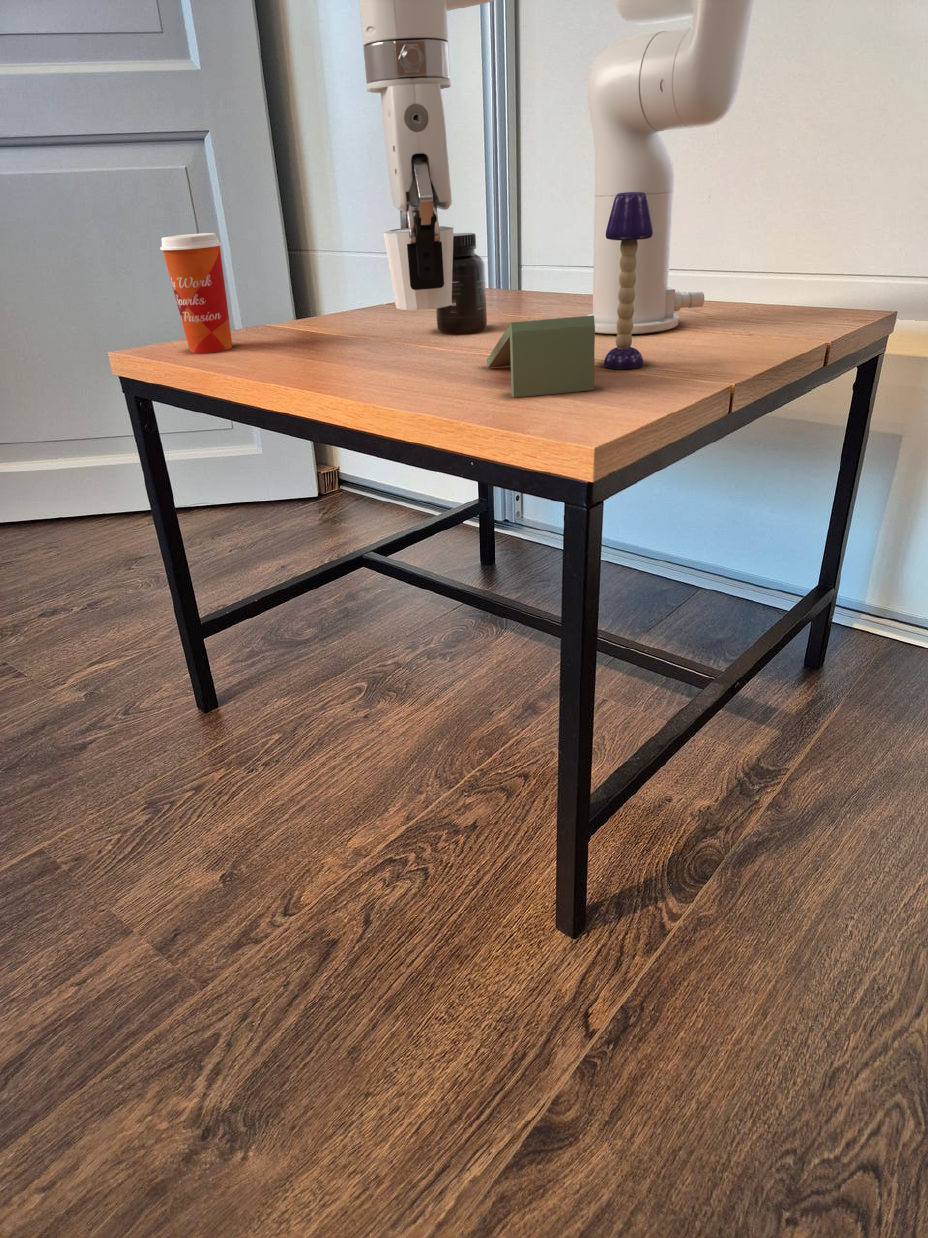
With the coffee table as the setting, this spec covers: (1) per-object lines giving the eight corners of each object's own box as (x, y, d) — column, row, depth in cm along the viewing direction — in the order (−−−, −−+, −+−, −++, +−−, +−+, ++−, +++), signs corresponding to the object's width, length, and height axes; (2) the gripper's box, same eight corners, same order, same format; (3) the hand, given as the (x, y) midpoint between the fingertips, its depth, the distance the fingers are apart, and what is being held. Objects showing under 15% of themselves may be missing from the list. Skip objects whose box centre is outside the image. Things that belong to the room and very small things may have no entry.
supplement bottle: (428, 333, 113) (421, 237, 108) (453, 324, 119) (447, 232, 113) (472, 335, 110) (467, 236, 105) (495, 326, 116) (492, 231, 110)
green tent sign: (487, 367, 93) (484, 301, 90) (557, 361, 94) (556, 296, 90) (513, 397, 80) (511, 323, 77) (593, 390, 81) (595, 315, 78)
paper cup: (169, 354, 111) (144, 239, 104) (204, 342, 117) (182, 233, 110) (219, 355, 108) (196, 237, 101) (252, 343, 114) (232, 231, 108)
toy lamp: (655, 365, 89) (664, 190, 81) (622, 373, 87) (629, 193, 79) (624, 359, 93) (630, 190, 85) (592, 366, 91) (595, 194, 82)
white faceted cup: (449, 309, 80) (445, 229, 77) (381, 311, 81) (373, 233, 78) (464, 299, 86) (460, 224, 83) (400, 301, 87) (393, 227, 84)
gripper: (464, 56, 67) (474, 291, 76) (437, 77, 82) (448, 272, 91) (371, 60, 66) (392, 298, 75) (361, 81, 81) (379, 277, 90)
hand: (422, 282), depth 83 cm, fingers closed on white faceted cup, 6 cm apart
